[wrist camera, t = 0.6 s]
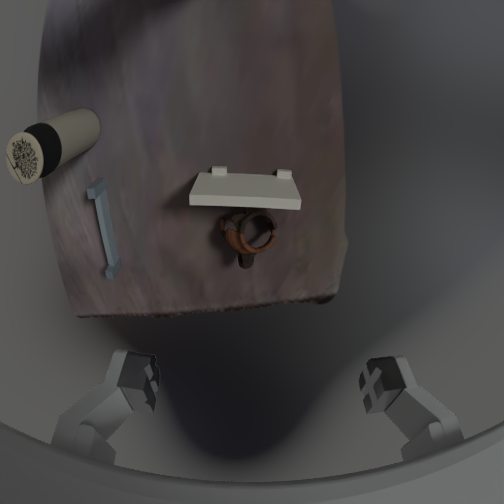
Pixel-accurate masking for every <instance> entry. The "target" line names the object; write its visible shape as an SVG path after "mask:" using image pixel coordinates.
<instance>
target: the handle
mask: <svg viewBox="0 0 504 504" xmlns="http://www.w3.org/2000/svg"><path fill="white" fill-rule="evenodd" d="M106 188H107V186H106V179H105V178H100V179H97V180H96V181H95V182H94V183H92V184H91V185H90V186H89V187H88V188H87V195H88V199H95V204H96V209H97V214H98V219H99V224H100V229H101V234H102V238H103V243H104V247H105V251H106V255H107V259H108V263H109V265H108V267H107V269H106V270H105V274H106V277H107V279H112V280H114V278H115V276H116V274H117V272H118V271H119V269H120V267H121V262H120V258H119V256H118V252H117V247H116V243H115V238H114V233H113V228H112V222H111V217H110V211H109V205H108V199H107V192H106Z"/></svg>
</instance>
